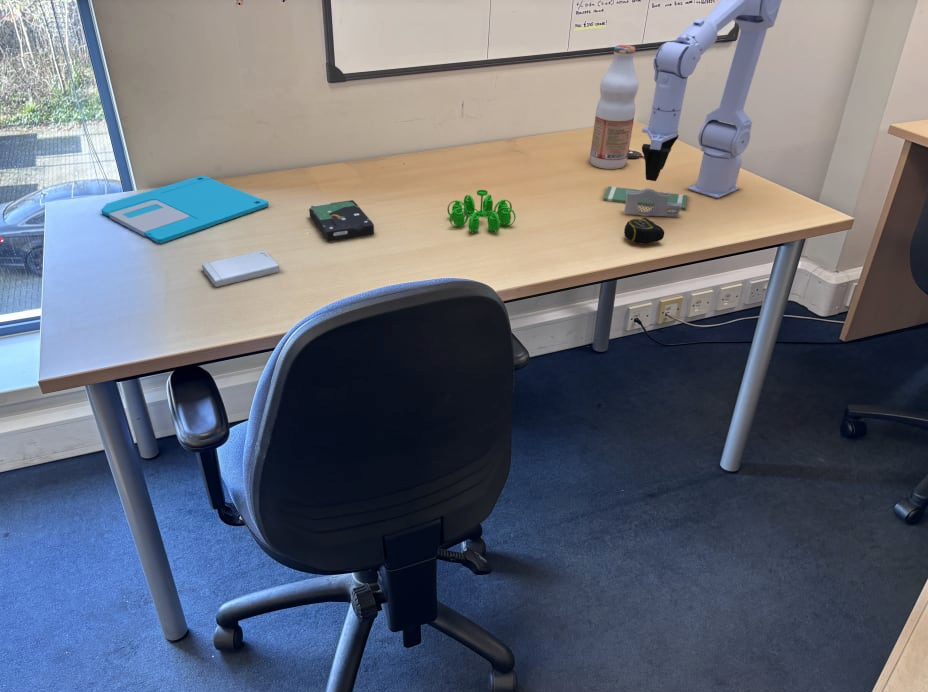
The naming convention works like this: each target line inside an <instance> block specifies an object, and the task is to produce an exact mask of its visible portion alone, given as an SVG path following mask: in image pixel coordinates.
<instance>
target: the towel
mask: <svg viewBox="0 0 928 692" xmlns="http://www.w3.org/2000/svg"><path fill="white" fill-rule="evenodd" d="M626 190H629V191H640V190H641V189H635V188H625V187H617V186H607V188H606V191H605V193H604V196H603V201H605V202H614V203H622V204H626V198H627V194H626ZM658 192H659V193H663V192H662V191H658ZM645 199H646V200H645ZM649 199H650V198H648V199H647V198H644V199H642V200H641V201H642V202H641V201H639V202H641V203H643V202H645V201H647V200H649ZM643 200H644V201H643ZM687 200H688V195H687V194H680V193H670V197H668V201H667V202H669V203H682V206H681V207H680V210H679V211H685V210H686V207H687ZM651 201H653V200H652V199H651ZM651 201H650V200H649V202H651ZM647 202H648V201H647ZM649 202H648V203H649ZM641 203H640V204H641ZM645 203H646V202H645ZM645 203H643V204H644V206H645ZM652 203H653V204H652ZM640 204H638V205H639V206H640ZM643 204H641V205H642V206H643ZM650 204H652V205H650ZM650 204H648V205H650V206H648V205H647V203H646V206H648V207H651V206H652V207H654V206H653V205H655V204H654V202H651V203H650ZM646 206H645V207H646Z"/></svg>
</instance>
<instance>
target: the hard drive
mask: <svg viewBox="0 0 928 692" xmlns="http://www.w3.org/2000/svg"><path fill="white" fill-rule="evenodd" d="M201 267H202V272H203V273H204V274H205V275H206V277H207V278H208V279H209V281H210V282H211V283H212V284H213V286H214V287H215V288H218V287H222V286H225V285H230V284H235V283H238V282H239V283H240V282H242V281H243V282H244V281H246V280H251V279H256V278H259V277H263V276H267V275H271V274H276V273H279V272H281V271H280V270H281V269H280V266H279V264H278V262H277V261H276V260H274V258H273V257H272V256H271V255H270V254H268V253H267V251H266V250H258V251H255V252H250V253H246V254H241V255H236V256H232V257H228V258H224V259H218V260H216V261H215V260H214V261H210V262H206V263H202V264H201Z"/></svg>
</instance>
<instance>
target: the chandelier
mask: <svg viewBox="0 0 928 692" xmlns="http://www.w3.org/2000/svg"><path fill="white" fill-rule="evenodd" d="M488 193H489V192H488V190H486V189H479V190H477V191H476V195H477V196H480V209H479V210H478V209H477V208H476V205H475V201H474V197H473V196H472V195H470V194H466V195H464V198H463V201H462V200H458V199H456V200H452V201H451V202H450V203H449V204H448V205H447V214H448V216H449V223H450V225H451V226H452V227H453V228H458V229H459V228H461V227H464V226H465V225H466V223H467V222H468V230H469V231H470V233H471V234H475V233H476V232H477V231H479V229H480V218H483V217H485V218H486V219H487V228H488V230H489V231H490V232H491V233H493V234H496V233H499V230H500V227H501V226H502V227H505V228H507V227H510V226H512V225H513V224H515V221H516V217H517V216H516V213H515V211H514V209H513V205H512V203H511V201H510V200H508V199H501V200H499V201H498V202H496V203H495V205H494V201H493V198H492V195H491V194H488ZM485 196H486V197H485ZM451 204H452V207H451V212H450V206H451ZM508 204H509V206H508ZM493 207H494V208H493ZM496 210H497V211H496ZM511 213H512V214H513V221H512V222H511V218H512V214H511ZM452 220H453V222H452Z"/></svg>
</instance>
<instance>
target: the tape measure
mask: <svg viewBox="0 0 928 692" xmlns="http://www.w3.org/2000/svg"><path fill="white" fill-rule="evenodd" d="M623 234H624V237H625V239H626V240H628V241H630V242H632V243H635V244H637V245H638V244H639V245H640V244H641V245H649V244H653V243H656V242H660V241H662V240H663V239H664V237H665V230H664V229H663V228H662V227H661V226H659V225H658V224H657V223H655V222H654V221H651V220H650V219H649V218H647V217H642V218H632V219H629V220H628V221H627V222H626V224H625V225H624V229H623Z"/></svg>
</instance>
